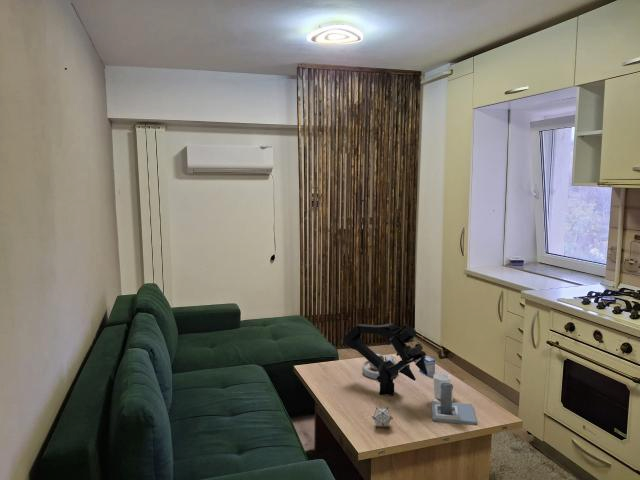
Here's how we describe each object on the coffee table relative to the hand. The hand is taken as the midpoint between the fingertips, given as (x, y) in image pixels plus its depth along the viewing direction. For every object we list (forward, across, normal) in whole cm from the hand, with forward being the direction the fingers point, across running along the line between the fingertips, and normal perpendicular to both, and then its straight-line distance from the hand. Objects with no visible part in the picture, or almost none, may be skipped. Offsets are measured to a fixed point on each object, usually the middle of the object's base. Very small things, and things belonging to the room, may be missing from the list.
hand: (421, 377), depth 213 cm
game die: (+9, -27, +11) cm, 30 cm away
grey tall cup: (+18, 0, -1) cm, 18 cm away
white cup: (+11, +14, +8) cm, 20 cm away
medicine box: (-3, +32, +22) cm, 40 cm away
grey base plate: (+20, +4, -1) cm, 20 cm away
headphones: (-16, +16, +36) cm, 43 cm away
